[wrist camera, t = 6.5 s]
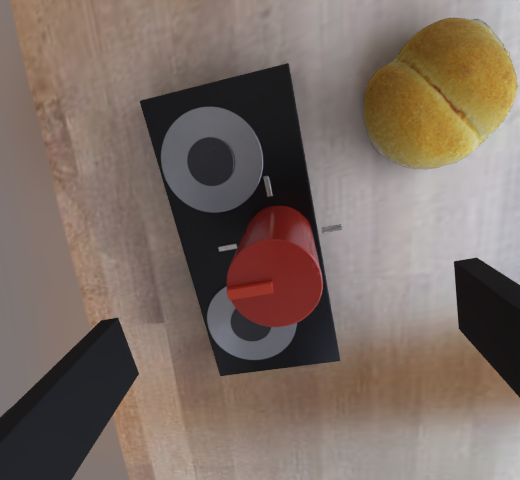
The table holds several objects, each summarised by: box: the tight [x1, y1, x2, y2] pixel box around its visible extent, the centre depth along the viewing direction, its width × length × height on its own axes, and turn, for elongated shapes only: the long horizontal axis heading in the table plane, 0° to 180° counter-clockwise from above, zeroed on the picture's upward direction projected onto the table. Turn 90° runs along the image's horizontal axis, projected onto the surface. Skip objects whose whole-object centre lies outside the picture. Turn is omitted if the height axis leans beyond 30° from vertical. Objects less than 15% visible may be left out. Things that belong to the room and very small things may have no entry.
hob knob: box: [227, 206, 323, 327], centre depth 21 cm, size 5×5×8 cm
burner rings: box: [161, 107, 297, 360], centre depth 25 cm, size 19×7×1 cm, turn 12°
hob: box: [140, 63, 342, 376], centre depth 26 cm, size 22×12×3 cm, turn 12°
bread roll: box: [364, 18, 518, 169], centre depth 21 cm, size 8×9×4 cm
